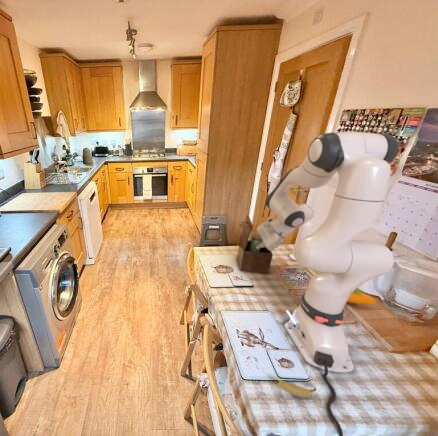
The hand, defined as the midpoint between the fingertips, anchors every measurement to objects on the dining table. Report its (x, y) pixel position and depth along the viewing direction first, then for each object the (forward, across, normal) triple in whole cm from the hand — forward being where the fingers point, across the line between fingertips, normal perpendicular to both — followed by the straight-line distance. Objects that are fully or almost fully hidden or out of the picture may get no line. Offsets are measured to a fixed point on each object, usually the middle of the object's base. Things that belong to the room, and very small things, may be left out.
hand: (254, 244), depth 120 cm
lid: (-1, 0, +8) cm, 8 cm away
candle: (-10, +11, -28) cm, 32 cm away
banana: (+10, -65, -8) cm, 66 cm away
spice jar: (+3, 0, -4) cm, 5 cm away
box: (+9, 0, -10) cm, 13 cm away
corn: (-15, -21, -33) cm, 42 cm away
